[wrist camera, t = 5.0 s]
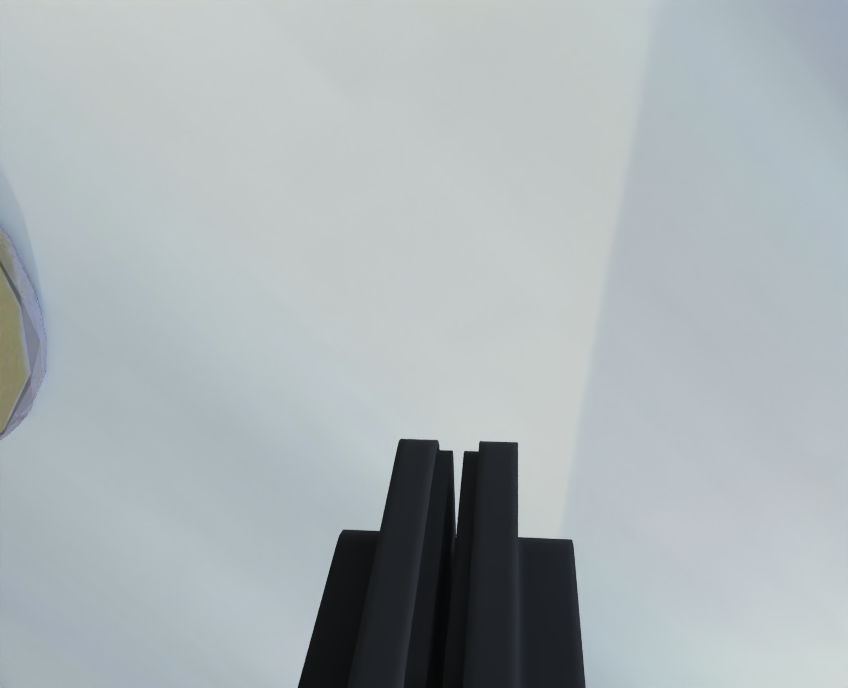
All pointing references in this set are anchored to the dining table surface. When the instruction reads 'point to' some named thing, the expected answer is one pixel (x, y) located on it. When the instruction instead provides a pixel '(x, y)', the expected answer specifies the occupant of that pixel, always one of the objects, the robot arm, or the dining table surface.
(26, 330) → the canister
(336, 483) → the dining table surface
